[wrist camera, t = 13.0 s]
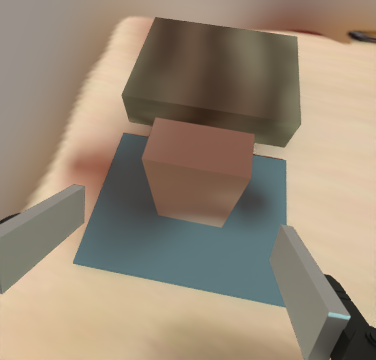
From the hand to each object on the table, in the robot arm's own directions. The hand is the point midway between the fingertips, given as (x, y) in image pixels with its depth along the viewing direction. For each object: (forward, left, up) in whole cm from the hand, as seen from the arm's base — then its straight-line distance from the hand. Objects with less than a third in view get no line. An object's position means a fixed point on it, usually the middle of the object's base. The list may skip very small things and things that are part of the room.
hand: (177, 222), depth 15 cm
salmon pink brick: (-1, -3, -6) cm, 7 cm away
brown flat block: (-1, -19, -6) cm, 21 cm away
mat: (-1, -3, -6) cm, 7 cm away
